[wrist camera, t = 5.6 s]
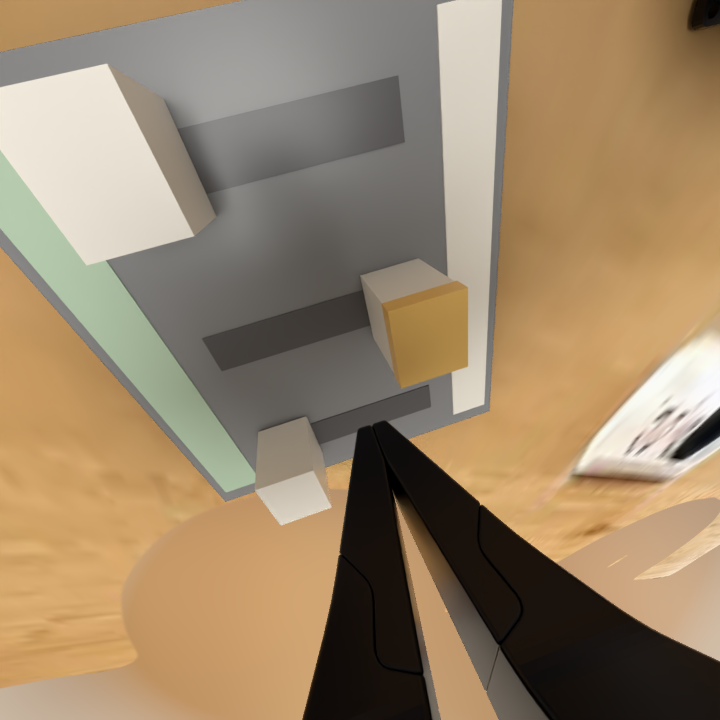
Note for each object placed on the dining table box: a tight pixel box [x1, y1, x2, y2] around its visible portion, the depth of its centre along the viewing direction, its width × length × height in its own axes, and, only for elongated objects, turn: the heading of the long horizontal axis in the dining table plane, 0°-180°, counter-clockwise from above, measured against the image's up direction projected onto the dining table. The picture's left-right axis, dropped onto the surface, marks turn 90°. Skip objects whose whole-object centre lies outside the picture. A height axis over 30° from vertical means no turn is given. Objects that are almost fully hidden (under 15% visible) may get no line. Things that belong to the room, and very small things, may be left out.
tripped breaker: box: [360, 258, 468, 389], centre depth 14 cm, size 3×4×4 cm
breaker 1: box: [0, 64, 216, 266], centre depth 9 cm, size 3×4×4 cm
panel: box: [0, 0, 513, 502], centre depth 16 cm, size 20×22×2 cm
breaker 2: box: [255, 416, 332, 525], centre depth 18 cm, size 3×4×4 cm
